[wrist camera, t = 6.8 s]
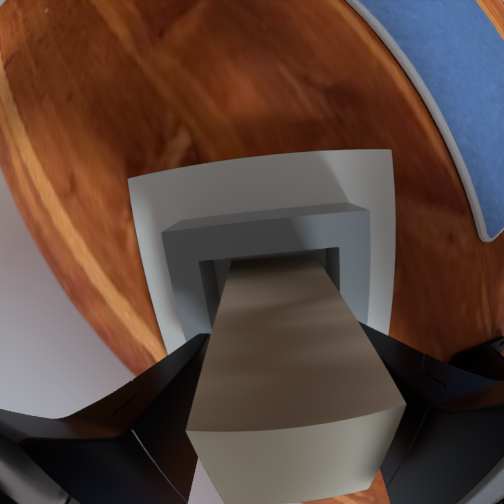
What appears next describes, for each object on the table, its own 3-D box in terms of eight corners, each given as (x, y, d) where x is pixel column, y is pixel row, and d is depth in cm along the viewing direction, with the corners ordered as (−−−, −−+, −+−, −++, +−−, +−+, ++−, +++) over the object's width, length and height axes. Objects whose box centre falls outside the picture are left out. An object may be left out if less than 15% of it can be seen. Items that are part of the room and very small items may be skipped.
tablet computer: (316, -20, 10) (319, -32, 8) (433, -37, 7) (440, -43, 6) (474, 244, 14) (486, 250, 12) (548, 168, 11) (558, 170, 10)
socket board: (378, 151, 12) (418, 145, 8) (374, 355, 15) (396, 398, 11) (140, 177, 13) (98, 181, 9) (185, 373, 16) (169, 418, 12)
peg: (313, 252, 12) (406, 404, 3) (315, 323, 13) (368, 488, 4) (231, 260, 12) (185, 430, 4) (241, 330, 13) (225, 504, 5)
